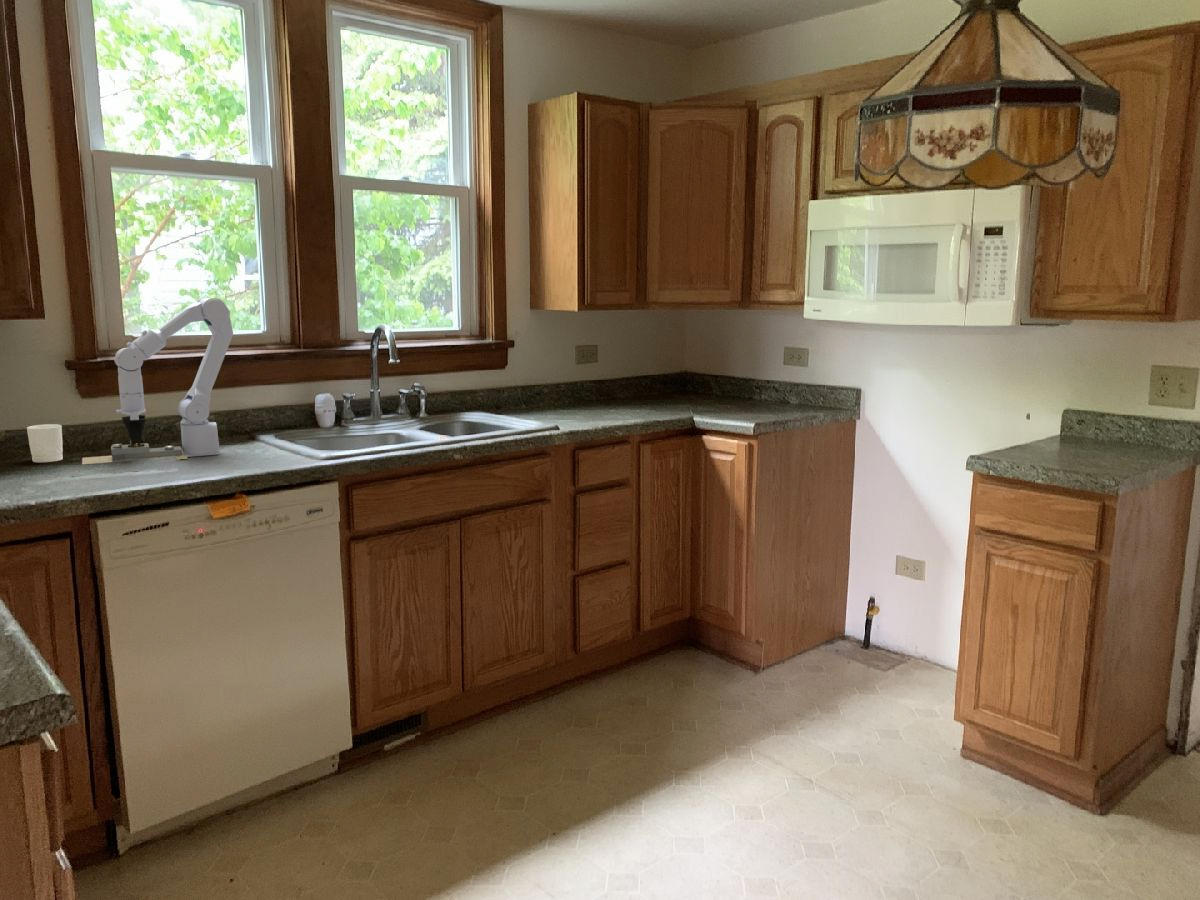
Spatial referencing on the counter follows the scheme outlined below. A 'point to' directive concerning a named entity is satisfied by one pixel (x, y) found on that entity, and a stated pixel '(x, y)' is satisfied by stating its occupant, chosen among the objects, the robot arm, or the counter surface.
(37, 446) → the white cup
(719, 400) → the counter surface
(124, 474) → the counter surface
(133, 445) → the brass knob
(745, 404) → the counter surface
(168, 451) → the door lock with knob
